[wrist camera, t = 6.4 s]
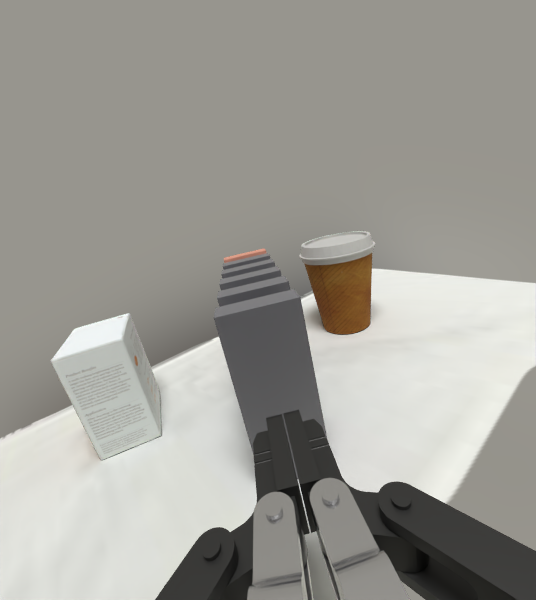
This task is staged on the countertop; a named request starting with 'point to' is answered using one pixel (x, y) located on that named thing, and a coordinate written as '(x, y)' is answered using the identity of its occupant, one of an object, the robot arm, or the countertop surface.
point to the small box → (110, 385)
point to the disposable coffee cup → (341, 279)
